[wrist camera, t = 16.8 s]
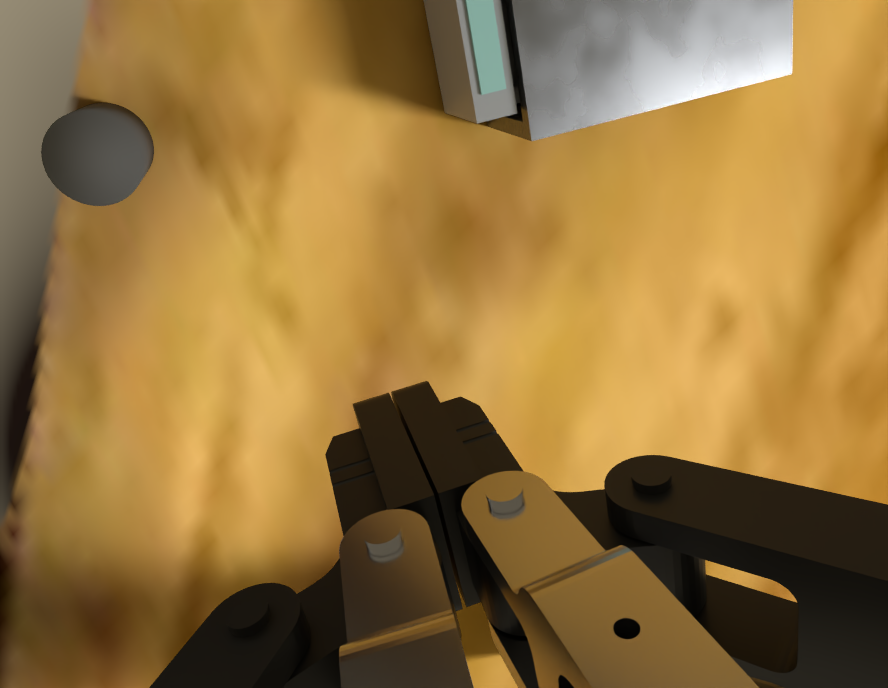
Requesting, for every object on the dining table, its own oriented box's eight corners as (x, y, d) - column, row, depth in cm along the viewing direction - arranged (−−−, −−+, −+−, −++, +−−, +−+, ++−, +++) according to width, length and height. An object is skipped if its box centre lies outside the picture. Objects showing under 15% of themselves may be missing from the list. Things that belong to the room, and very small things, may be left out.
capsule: (165, 176, 36) (157, 192, 32) (84, 196, 35) (65, 215, 31) (135, 94, 34) (123, 100, 30) (49, 113, 34) (24, 123, 30)
